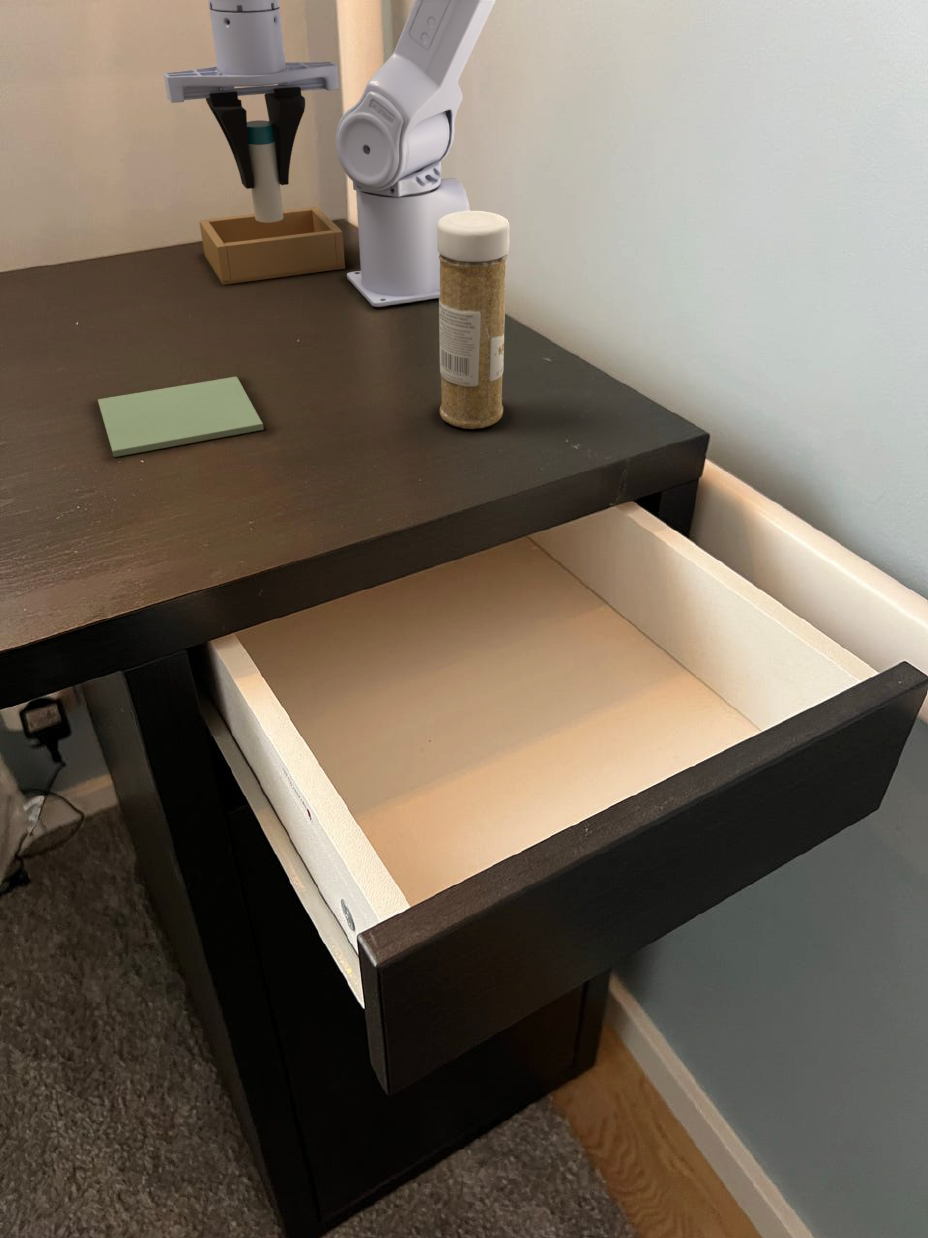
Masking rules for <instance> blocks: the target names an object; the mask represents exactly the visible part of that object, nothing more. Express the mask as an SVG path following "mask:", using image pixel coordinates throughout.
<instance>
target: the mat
mask: <svg viewBox="0 0 928 1238" xmlns="http://www.w3.org/2000/svg"><path fill="white" fill-rule="evenodd" d="M240 381H241V380H239V378H238V376H230V377H225V378H218V379H213V380H207V381H201V382H200V381H199V382H196V383H195V382H194V383H189V384H183V385H177V386H171V387H164V388H159V389H153V390H152V389H151V390H145V391H141V392H134V393H127V394H122V395H117V396H110V397H103V398H99V399H97V402H98V407H99V410H100V414H101V417H102V420H103V425H104V428H105V431H106V435H107V438H108V441H109V445H110V448H111V452H112V456H113V458H117V457H123V456H128V455H133V454H134V455H135V454H139V453H145V452H150V451H154V450H155V451H156V450H160V449H166V448H172V447H177V446H183V445H187V444H195V443H199V442H205V441H209V440H215V439H221V438H225V437H231V436H237V435H243V434H248V433H253V432H258V431H259V432H260V431H263V430H264V423H263V422H262V420H261V418H260V415H259V414H258V412H257V411H256V408H255V407H254V405H253V404H252V401H251V400H250V398H249V396H248V394H247V392H246V391H245V388H244V386H243V385H242V383H241V382H240Z"/></svg>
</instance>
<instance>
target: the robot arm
mask: <svg viewBox="0 0 928 1238" xmlns="http://www.w3.org/2000/svg"><path fill="white" fill-rule="evenodd" d="M496 1H497V0H414V3H413V5H412V7H411V9H410V12H409V13H408V17H407V19H406V22H405V24H404V27H403V29H402V31H401V34H400V37H399V39H398V41H397V44H396V46H395V48H394V51H393V53H392V54H391V55H390V56H389V57H388V59H387V60H386V61H385V62H384V63H383V65H382V66H380V68H379V69H378V70H377V71H376V72H375V73H374V74H373V76H371V78H370V79H369V80H368V82H367V83H366V85H365V88H364V90H363V93H362V95H361V96H360V98H359V100H358V101H357V102H356V104H354V105H352V106H351V107H350V108H349V109H348V110H346V111H345V113H344V114H343V115H342V116H341V118H340V119H339V122H338V124H337V127H336V131H335V139H334V140H335V150H336V155H337V158H338V162H339V163H340V166H341V168H342V170H343V171H344V173H345V174H346V175H347V177H348V178H349V180H351V181H352V189H353V190H354V191H355V195H356V196H355V197H356V211H357V212H356V213H357V214H356V215H357V229H358V232H357V233H358V245H359V247H358V248H359V249H358V250H359V262H360V263H359V264H360V265H359V266H360V270H357V271H350V272H347V274H346V278H347V280H348V281H349V282H350V283H351V284H352V286H354V288H355V289H357V291H358V292H359V293H360V294H361V295H362V296H363V297H364V298H365V300H366V301H367V302H368V303H369V304H370V305H371V306H372V307H375V308H382V307H388V306H394V305H402V304H408V303H415V302H420V301H422V302H423V301H428V300H435V299H439V297H440V259H439V255H440V253H439V252H438V251H437V223H438V221H439V220H440V218H442V217H443V216H445V215H447V214H451V213H455V212H461V211H471V208H470V202H469V197H468V194H467V191H466V188H465V187H464V185H463V184H462V182H461V181H460V180H459V179H457V178H453V177H447V178H446V177H445V178H442V162H443V160H444V159H446V158H447V156H448V154H450V152H451V150H452V147H453V144H454V140H455V134H456V133H455V132H456V129H455V127H456V117H457V113H458V110H459V108H460V106H461V104H462V102H463V99H464V95H463V92H462V89H461V87H460V85H459V79H460V77H461V76H462V74H463V71H464V69H465V67H466V65H467V63H468V60H469V58H470V56H471V54H472V52H473V50H474V48H475V46H476V43H477V41H478V39H479V37H480V35H481V33H482V31H483V29H484V27H485V25H486V22H487V21H488V19H489V16H490V14H491V12H492V10H493V8H494V6H495V4H496ZM207 2H208V8H209V17H210V24H211V31H212V36H213V37H212V39H213V46H214V52H215V53H214V54H215V60H216V66H210V67H202V68H194V69H187V70H180V71H171V72H164V73H163V79H164V85H165V91H166V96H167V99H168V100H169V102H170V103H172V104H175V103H184V102H185V101H190V100H203V99H205V101H206V104H207V105H208V107H209V109H210V111H211V113H212V114H213V116H214V118H215V120H216V121H217V123H218V125H219V127H220V129H221V131H222V133H223V135H224V137H225V139H226V141H227V144H228V146H229V148H230V150H231V153H232V155H233V158H234V161H235V164H236V167H237V170H238V174H239V177H240V183H241V184H242V186H244V188H245V189H247V190H249V189H250V190H251V188H254V177H253V171H252V165H251V160H250V155H249V147H248V135H247V122H248V118H247V117H248V116H247V112H248V111H247V109H245V108H244V107H243V106H242V104H243V103H242V99H239V97H240V96H242V97H244V96H255V95H264V100H265V106H266V110H267V117H268V121H270V122H273V124H274V131H275V145H276V154H277V163H278V173H279V182H280V186H287V185H289V183H290V181H289V179H290V166H291V159H292V153H293V147H294V144H295V139H296V136H297V133H298V128H299V126H300V124H301V120H302V118H303V116H304V113H305V110H306V98H305V97H304V96H303V95H302V92H306V91H320V90H326V91H329V92H330V91H331V92H332V91H339V90H340V85H339V72H338V65H337V64H335V63H334V62H332V61H310V62H309V61H307V62H305V61H304V62H303V61H301V62H299V61H298V62H295V61H294V62H293V61H292V62H291V61H289V62H286V55H285V46H284V36H283V35H284V34H283V25H282V15H281V14H282V13H281V7H280V0H207Z"/></svg>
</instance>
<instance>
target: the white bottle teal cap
mask: <svg viewBox="0 0 928 1238" xmlns="http://www.w3.org/2000/svg"><path fill="white" fill-rule="evenodd" d="M247 135H248V147H249V155H250V160H251V165H252V171H253V177H254V188H251V189H250V190H251V196H252V205H253V206H252V207H253V214H255V219H256V221H259V222H264V223H271V222H277V221H280V220H282V219H283V211H284V209H283V201H282V191H281V184H280V182H279V173H278V163H277V154H276V145H275V131H274V124H273V122H270V121H269V120H261V119H258V120H257V119H256V120H250V121H247Z"/></svg>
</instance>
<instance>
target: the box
mask: <svg viewBox="0 0 928 1238" xmlns="http://www.w3.org/2000/svg"><path fill="white" fill-rule="evenodd" d="M198 222H199V228H200V229H199V230H200V235H201V241H202V247H203V248H202V249H203V253H204V258H205V259H206V261H207V262H208V264H209V265H210V267H211V269H212V270H213V272H214V273H215V275H216V277H218V280H219V281H220V283H221V284H222V285H223V286H226V285H232V284H241V283H248V282H254V281H261V280H269V279H277V278H284V277H292V276H300V275H306V274H315V273H320V272H321V273H322V272H329V271H335V270H343V269H346V261H345V247H344V233H343V231H342V230H341V228H340V227H339V226H338V225H336V223H334V222H333V221H332V220H331V219H330V218H329V217H328V215H327V214H325V213H324V212H323V211H322V210H321V208H320V207H318V206H313V207H302V208H295V209H285V210H284V209H283V219H282V220H280V221H277V222H271V223H264V222H259V221H256V219H255V213H250V214H241V215H232V216H223V217H216V218H207V219H199V221H198Z"/></svg>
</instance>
